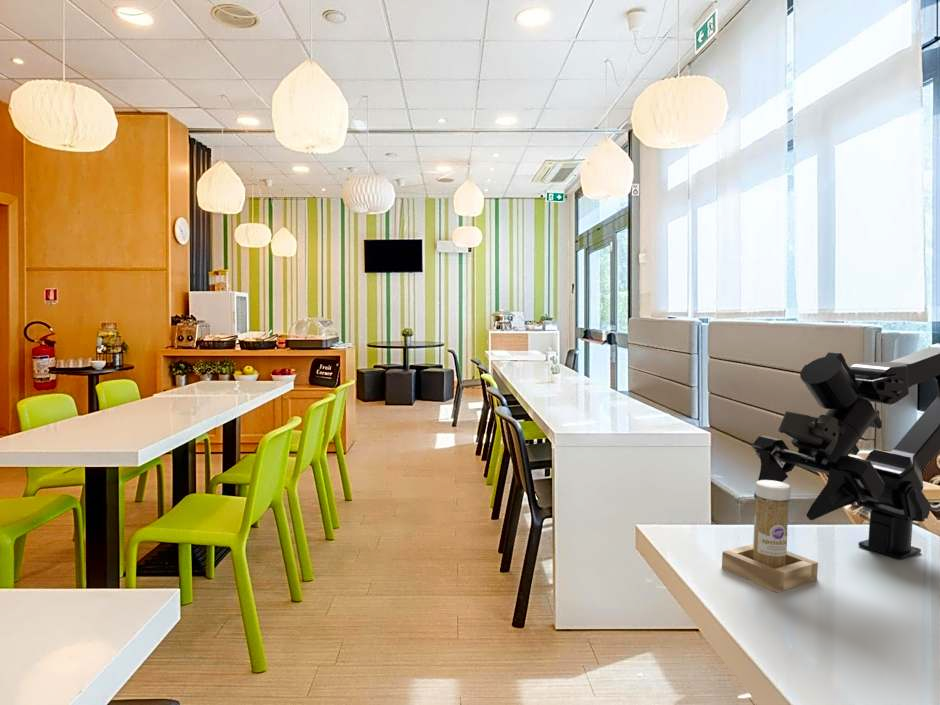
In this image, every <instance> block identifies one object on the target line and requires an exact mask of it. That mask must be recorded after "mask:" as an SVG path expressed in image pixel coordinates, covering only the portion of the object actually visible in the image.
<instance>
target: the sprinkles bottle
mask: <svg viewBox="0 0 940 705" xmlns="http://www.w3.org/2000/svg"><path fill="white" fill-rule="evenodd" d="M754 489H755V490H754V494H756V499H755V514H754V524H753V542H752V544H753V550H754V552H753V553H754V554H753V560H755V561H757V562H759V563H762V564H764V565H767V566H769V567H772V568H774V569H776V568H780V567H783V566H785V558H786V553H787V551H788V522H789V520H788V519H789V518H788V516H789V503H790V499H791V492H792V491H791V486H790V485H789V484H788V483H786V482H784V481H783V482H779V481H773V480H760V481H758V480H757V481H755V488H754Z"/></svg>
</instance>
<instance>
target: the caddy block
mask: <svg viewBox="0 0 940 705" xmlns="http://www.w3.org/2000/svg"><path fill="white" fill-rule="evenodd" d="M753 552H754V550H753V543H750V544H746V545H742V546H739V547H735V548H732V549H727V550H725V551H722V553H721V554H722V555H721V569H723V568H724V569H723V570H725V569H726V570H725V571H727V570H728V572H730V573H732V574H734V573H735V574H734V575H736V574H737V576H739V577H741V578H743V577H744V578H743V579H745V578H746V579H745V580H748V581H749V582H753V583H754V584H757V585H760V586H761V587H764V588H766V589H768V590H771V591H773V592H774V593H779V592H782V591H786V590H788V589H792V588H795V587H797V586H798V587H799V586H801V585H805V584H808V583H810V582H813V581H816V580H818V571H819V562H818V561H815V560H813V559H810V558H807V557H804V556H802V555H799V554H797V553H794V552H792V551H789V550H787V553H786V558H785V566H783V567H780V568H776V569H774V568H772V567H769V566H767V565H764V564H762V563H759V562H757V561H755V560H753V554H754V553H753Z"/></svg>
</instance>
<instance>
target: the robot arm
mask: <svg viewBox="0 0 940 705" xmlns="http://www.w3.org/2000/svg"><path fill="white" fill-rule="evenodd" d="M799 378H800V379H801V381H802V383H804V385H805V387H806V388H807V390H808V391H809V392H810V394H811V396H812V397H813V399H814V400H815V401H816V403H817V405H818V406H819V407H820V408H823V409H826V410H827V411H826V412H825V414H820V415H819V416H818V417H817V416H816V417H815V416H812V415H808V414H803V413H799V412H793V411H788V410H786V411H785V412H784V415H783V418H782V420H781V423H780V425H779V427H778V432H779V433H782V434H785V435H787V436H789V437H791V438H792V440H791V441H790V443H792V445H793V446H794V448H797V451H793V450H790V449H789V447H788V446H787V445H786V443H785V442H784V440H783V439H781V438H777V437H772V436H769V435H759V436H758V437H757V438H756V439H755V440H754V442H753V443H752V445H751V447H752V448H753V450H754V451H755V454H756V456H758V458H759V459H760V470H759V475H758V478H757V481H760V480H773V481H779V482H783V483H784V482H785V480H786V479H787V478H789V476H788V474H787V473H789V472H792V470H793V469H794V468H795V466H797V467H800V468H803V469H807V470H810V471H813V472H817V473H820V474H825V475H828V476H827V482H826V484H825V485H824V487H823V489H822V490H821V491H820V493H819V494H818V496H816V499H815V500H814V502H813V503H812V504H811V505H810V507H809V510H807V513H806V514H805V515H806V518H807V519H808V520H810V521H815V520H816V519H819V518H820V517H823V516H825V515H827V514H829V513H831V512H834V511H837V510H838V509H841V508H844V507H847V506H849V505H852V504H855V503H856V505H857V507H858V506H859V507H860V508H861V507H863V508H867V509H869V510H870V512H869V513H870V515H869V524H868V525H869V526H868V537H867V538H868V539H865V540H861V541H859V542H858V546H859V547H862V548H865V549H868V550H871V551H874V552H877V553H880V554H883V555H886V556H889V557H892V558H895V559H898V560H900V559H902V560H903V559H905V558H907V557H911V556H914V555H918V554H920V553H922V549H921V548H920V547H916V546H913V545H912V538H913V523H914V522H925V519H928V518H929V515H930V512H931V509H932V504H931V503H930V502H929V500H928V499H927V497H926V495H925V494H924V492H923V489H924V481H923V471H924V469H925V468H926V467H927V466H928V464H929V463H930V462H931V461H932V459H934V457H935V456H936V454H937V453H938V452H940V343H937V342H936V343H935V344H931V345H929V346H928V347H926V348H924V349H922V350H918V351H916V352H913V353H909V354H907V355H905V356H902V357H899V358H896V359H894V360H890V361H884V362H883V361H879V362H877V361H876V362H860V363H854V364H852V365H851V366H849V365H848V364H847V362H846V358H845V357H844V355H843V353H841V352H831V351H829V352H827V354H826V355H825V356H823V357H819V358H816V359H814V360H812V361H810V362H809V363H807V364H805V365H804V366H803V367H802V369H801V370H800V374H799ZM931 379H933V380H934V381H935V383H936V388H937V389H936V390H937V396H936V398H935V399H934V400H933V401H932V403H931V404H930V405H929V406H928V407H927V408H926V410H925V411H924V412H923V413H922V414H921V416H920V417H919V418H918V419H917V420H916V421H915V422H914V424H912V426H911V427H910V428H909V430H908V431H906V433H905V434H904V435H903V437H902V438H901V439H900V440H899V441H898V443H897V444H896V445H895V446H894V447H893V449H892V450H890V451H884V450H881V449H875V448H874V449H873V450H872V451H870V452H869V453H868V455H867V457H866V458H865V459H863V458H859V457H855V456H857V455H858V454H859V452H860V449H859V447H858V446H857V444H858V443H859V441H860V440H861V439H862V437H863V435H864V434H865V433H866V432H867V430H868V429H869V428H874V429H878V430H879V429H882V427H883V422H882V419H881V417H880V411H879V410H877V409H875V407H874V406H873V404H872V403H876V404H883V405H889V406H890V405H895V404H896V403H898V402H900V401H901V400H903V399H904V398H905V397H907V396H908V395H909V394H910V388H912V386H915V385H918V384H920V383H923V382H925V381H928V380H931ZM850 455H851V456H850ZM852 455H853V456H852ZM753 497H754V499H755V500H756V494H755V493H754V496H753Z"/></svg>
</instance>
